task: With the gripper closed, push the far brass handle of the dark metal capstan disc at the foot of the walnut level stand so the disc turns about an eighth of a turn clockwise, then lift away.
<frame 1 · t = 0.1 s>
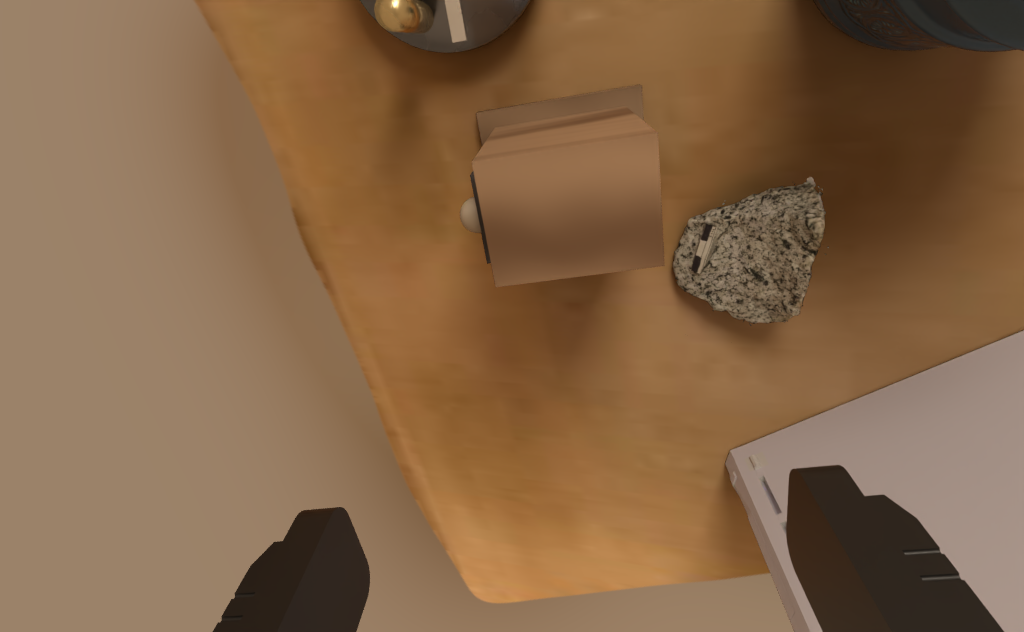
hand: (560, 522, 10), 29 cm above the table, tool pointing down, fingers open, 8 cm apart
rock sample: (735, 255, 38), on the table
game console: (899, 406, 42), on the table
level stand: (565, 164, 36), on the table
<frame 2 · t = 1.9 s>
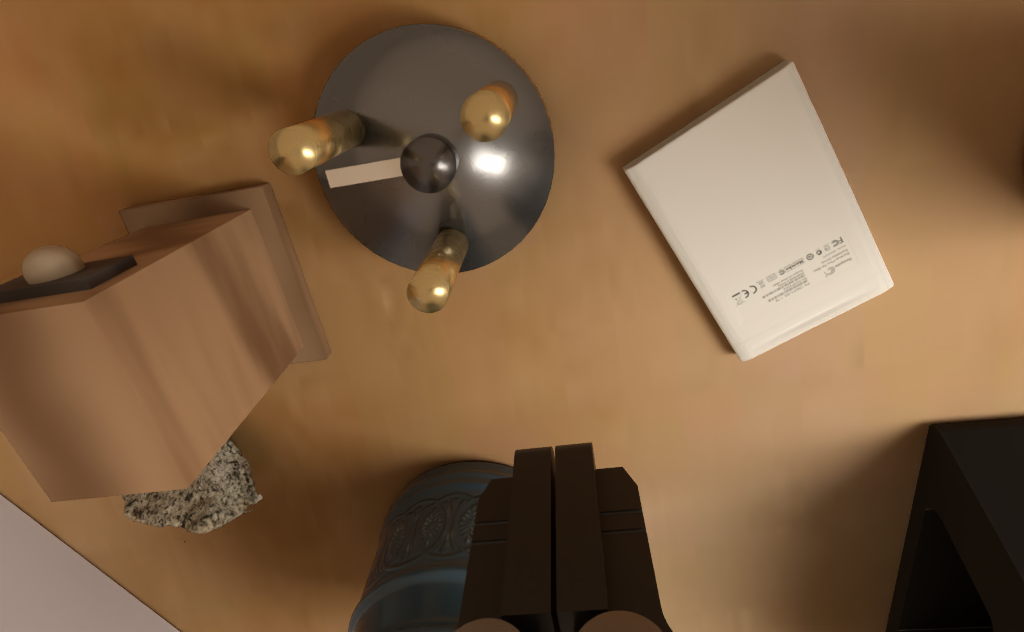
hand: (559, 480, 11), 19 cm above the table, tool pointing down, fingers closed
rock sample: (189, 432, 36), on the table
game console: (94, 586, 44), on the table
external hard drive: (753, 220, 28), on the table
capstan: (422, 170, 23), point 4 cm above the table, hinge at 0.0°
canister: (482, 527, 38), on the table
level stand: (235, 283, 31), on the table
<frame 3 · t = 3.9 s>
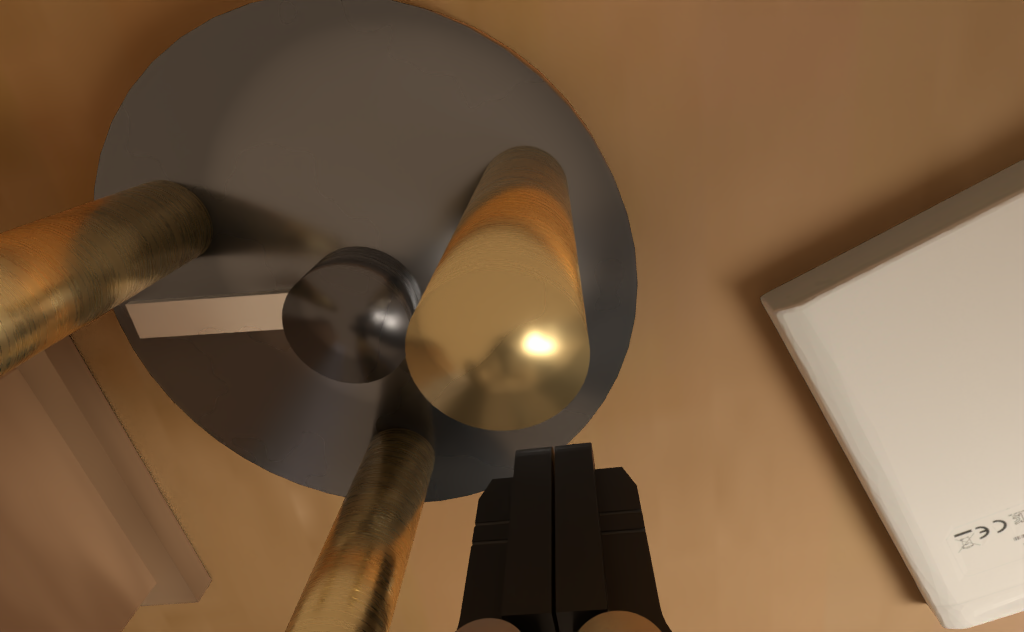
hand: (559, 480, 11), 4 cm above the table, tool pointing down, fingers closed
external hard drive: (997, 390, 15), on the table
capstan: (326, 356, 9), point 4 cm above the table, hinge at -4.1°, touching gripper
level stand: (26, 477, 17), on the table
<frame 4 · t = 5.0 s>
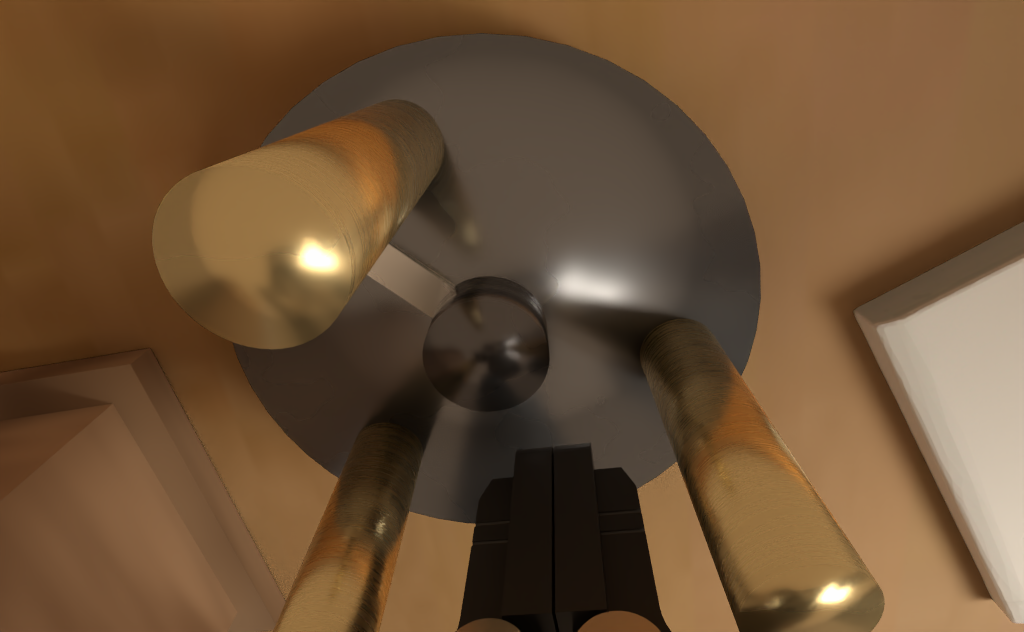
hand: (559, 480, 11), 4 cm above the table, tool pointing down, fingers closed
capstan: (482, 388, 10), point 4 cm above the table, hinge at -47.7°, touching gripper
level stand: (104, 510, 17), on the table
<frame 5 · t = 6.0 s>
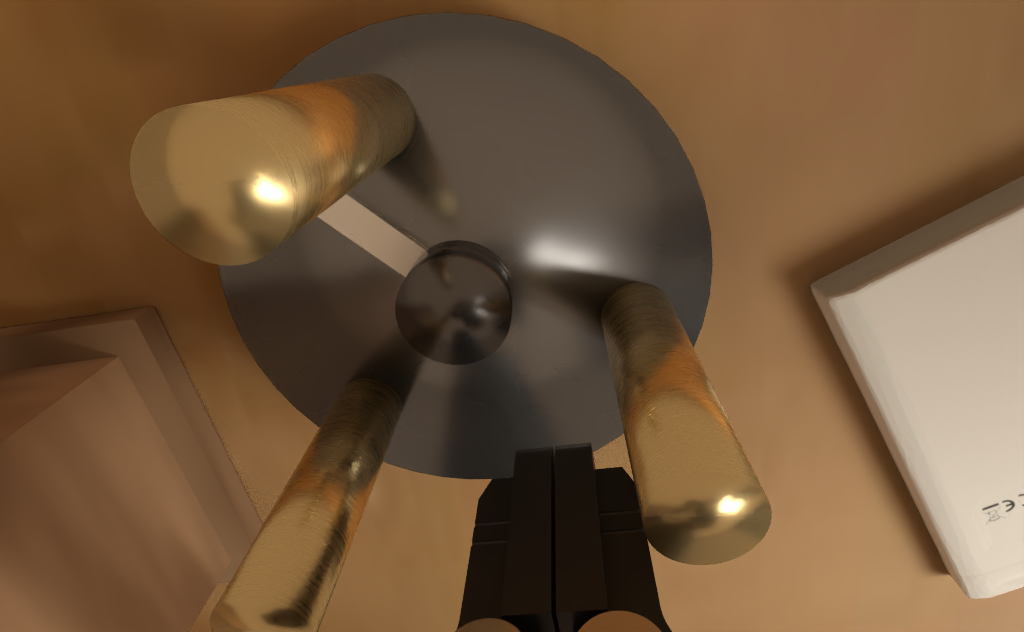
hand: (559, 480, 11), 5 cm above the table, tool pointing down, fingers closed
external hard drive: (1022, 374, 16), on the table
capstan: (445, 337, 10), point 4 cm above the table, hinge at -47.0°
level stand: (110, 460, 18), on the table
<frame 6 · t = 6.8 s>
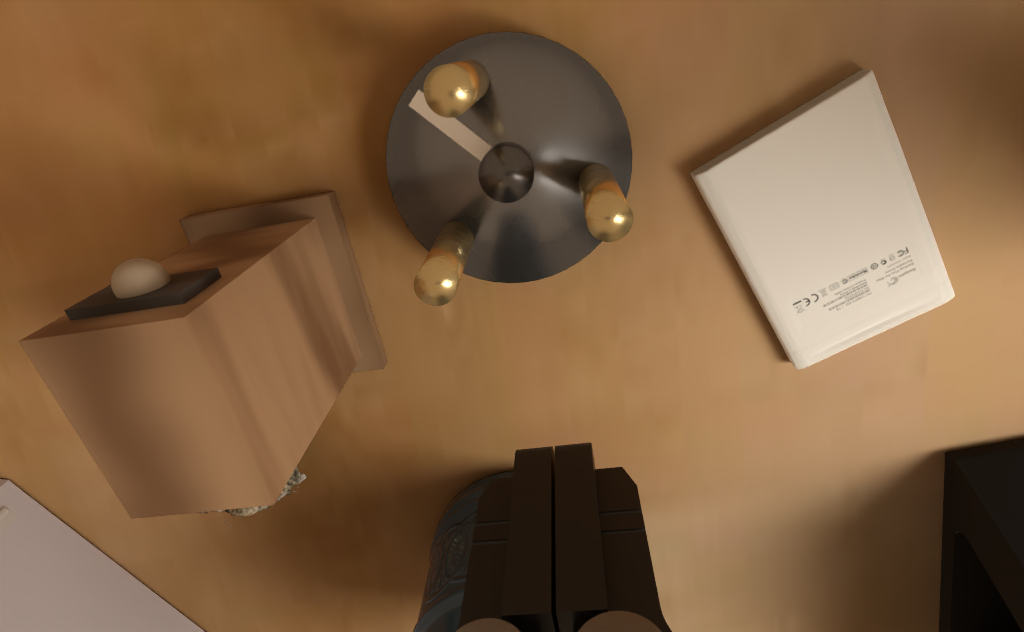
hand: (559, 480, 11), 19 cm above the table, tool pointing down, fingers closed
rock sample: (225, 417, 35), on the table
game console: (131, 596, 43), on the table
external hard drive: (815, 228, 28), on the table
capstan: (504, 180, 23), point 4 cm above the table, hinge at -47.0°
canister: (531, 535, 38), on the table
level stand: (293, 292, 30), on the table
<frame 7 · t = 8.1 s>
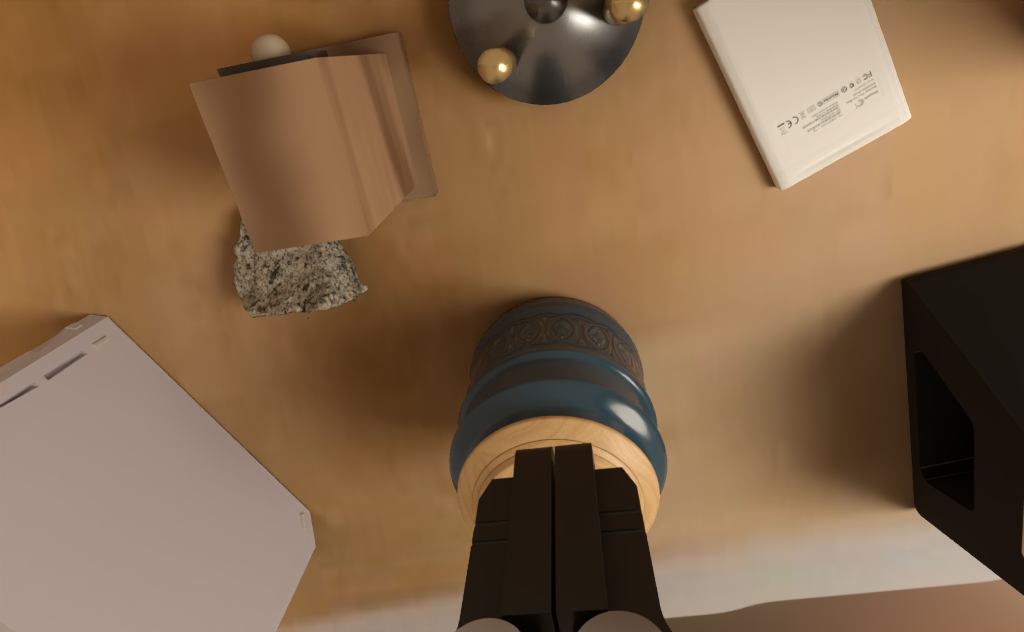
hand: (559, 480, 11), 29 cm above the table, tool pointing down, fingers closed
rock sample: (294, 250, 41), on the table
game console: (204, 436, 49), on the table
external hard drive: (796, 63, 34), on the table
canister: (555, 366, 44), on the table
level stand: (361, 128, 37), on the table
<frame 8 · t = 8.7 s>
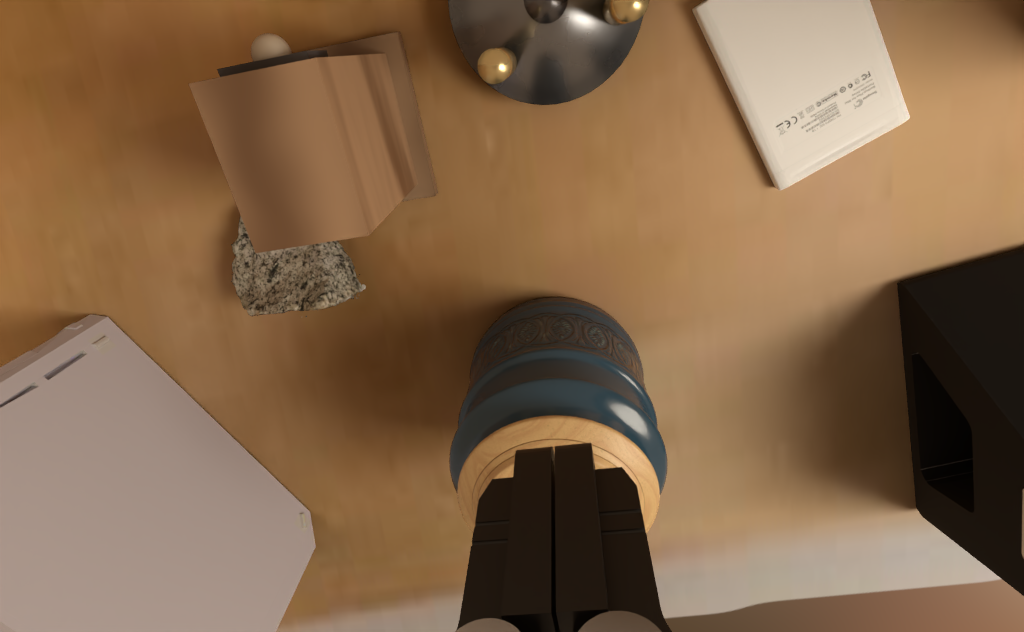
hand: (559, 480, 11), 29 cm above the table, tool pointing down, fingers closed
rock sample: (293, 249, 41), on the table
game console: (204, 436, 49), on the table
external hard drive: (795, 63, 34), on the table
canister: (555, 366, 44), on the table
level stand: (361, 128, 37), on the table
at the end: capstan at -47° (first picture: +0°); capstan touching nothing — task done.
